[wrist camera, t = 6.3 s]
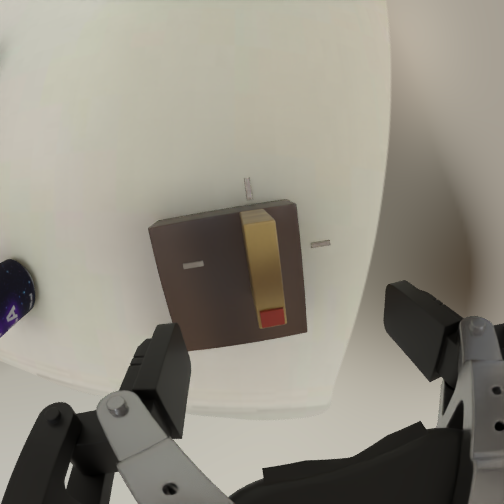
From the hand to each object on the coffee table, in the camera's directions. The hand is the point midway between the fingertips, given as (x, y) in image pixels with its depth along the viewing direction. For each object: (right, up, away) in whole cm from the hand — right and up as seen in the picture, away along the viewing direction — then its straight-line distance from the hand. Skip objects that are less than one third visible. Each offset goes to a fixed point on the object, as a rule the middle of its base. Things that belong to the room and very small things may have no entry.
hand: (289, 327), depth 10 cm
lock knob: (-1, +3, +9) cm, 9 cm away
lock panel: (-2, +2, +12) cm, 12 cm away
